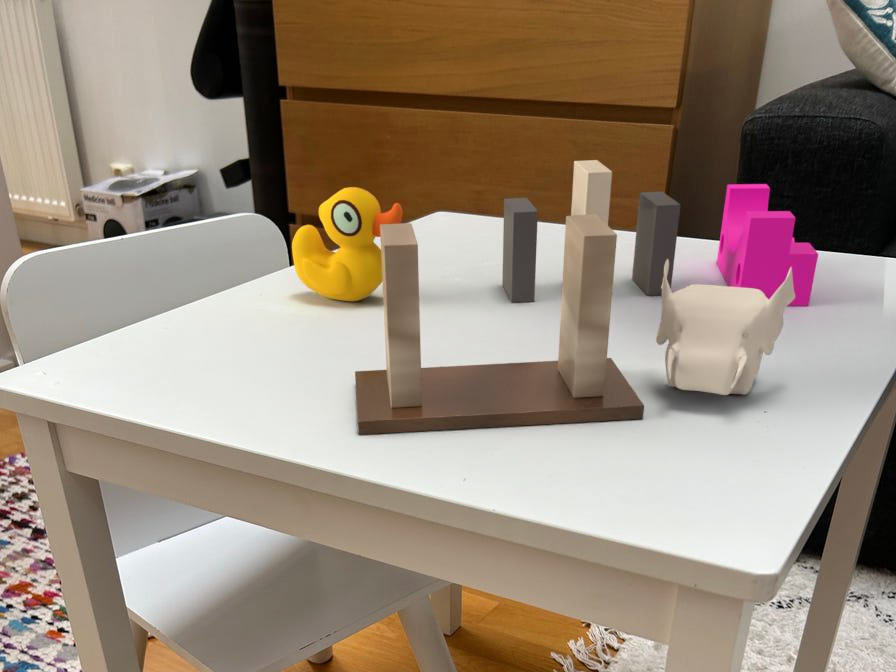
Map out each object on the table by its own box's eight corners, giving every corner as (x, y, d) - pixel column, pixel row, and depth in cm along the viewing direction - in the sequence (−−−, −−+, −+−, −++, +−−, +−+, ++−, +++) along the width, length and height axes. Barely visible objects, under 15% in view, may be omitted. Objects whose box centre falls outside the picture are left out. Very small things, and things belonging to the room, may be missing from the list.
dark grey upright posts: (653, 277, 99) (662, 191, 94) (670, 294, 94) (680, 204, 89) (502, 285, 98) (504, 198, 94) (511, 302, 93) (513, 212, 89)
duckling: (416, 296, 96) (413, 184, 90) (393, 312, 92) (388, 196, 86) (312, 287, 100) (302, 179, 94) (286, 302, 96) (274, 190, 90)
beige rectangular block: (589, 281, 99) (597, 159, 92) (602, 298, 94) (612, 171, 87) (567, 282, 99) (574, 160, 92) (579, 299, 94) (587, 172, 87)
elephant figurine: (627, 411, 71) (639, 283, 66) (658, 357, 80) (672, 241, 75) (766, 427, 68) (790, 295, 63) (782, 369, 77) (805, 249, 72)
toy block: (808, 305, 90) (825, 217, 86) (737, 305, 91) (750, 218, 86) (778, 262, 102) (792, 183, 98) (716, 262, 103) (727, 184, 99)
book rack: (610, 370, 78) (623, 206, 71) (643, 419, 70) (662, 239, 63) (355, 383, 77) (344, 219, 70) (358, 434, 69) (346, 254, 62)
